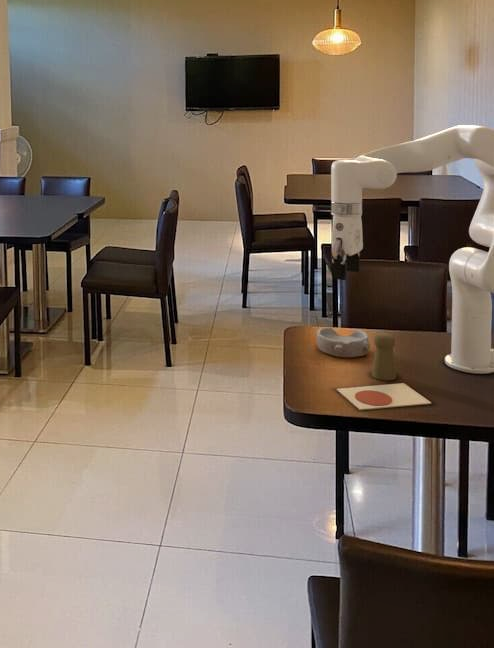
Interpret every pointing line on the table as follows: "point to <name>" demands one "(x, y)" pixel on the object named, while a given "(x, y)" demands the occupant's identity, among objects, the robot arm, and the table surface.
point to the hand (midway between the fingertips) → (346, 275)
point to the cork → (384, 357)
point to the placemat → (383, 396)
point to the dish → (342, 343)
